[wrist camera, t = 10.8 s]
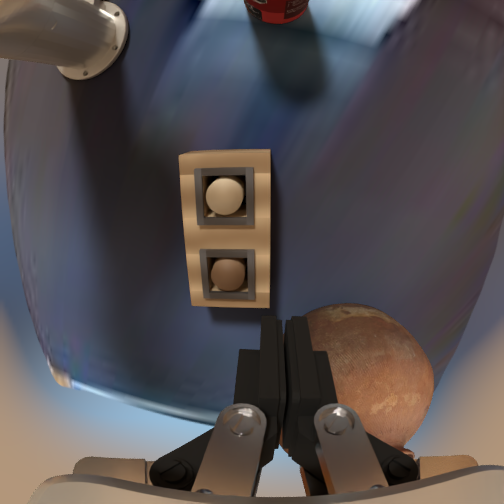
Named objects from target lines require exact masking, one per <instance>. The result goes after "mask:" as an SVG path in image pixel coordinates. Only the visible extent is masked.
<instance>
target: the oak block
mask: <svg viewBox="0 0 504 504" xmlns="http://www.w3.org/2000/svg"><path fill="white" fill-rule="evenodd" d="M179 170H180V186H181V201H182V214H183V226H184V237H185V248H186V258H187V268H188V277H189V286H190V294H191V303H192V306H210V307H243V308H269V302H270V196H271V173H270V149H235V150H205V151H191V152H188V153H184V154H181V155H179ZM219 175H246V205H240V207H239V208H238V210H236V211H235V212H234V213H232V214H228V215H221V214H218V213H216V212H214V211H213V210H212V209H211V208H210V207H209V206H208V204H207V201H206V192H207V189H208V188H209V186H210V185H211V184H212V176H219ZM216 257H229V258H247V265H248V271H245V277H244V281H243V283H242V285H241V286H240V287H239V288H237V289H235V290H231V291H226V290H222V289H220V288H218V287H217V286H216V285H215V284H214V283H213V281H212V278H211V271H212V268H213V266H214V263H215V261H216Z"/></svg>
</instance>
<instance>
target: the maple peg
mask: <svg viewBox="0 0 504 504" xmlns="http://www.w3.org/2000/svg"><path fill="white" fill-rule="evenodd" d="M245 193H246V180H245V178H244V177H243V176H242V175H220V176H219V177H218V178H217V179H216V180H215V181H214V182H213V183H212V184H211V185H210V186H209V188H208V189H207V192H206V201H207V204H208V206H209V207H210V208H211V209H212V210H213V211H214V212H216V213H218V214H221V215H228V214H232V213H234V212H235V211H236V210H238V208H239V207H240V205H241V203H242V201H243V198H244V195H245Z"/></svg>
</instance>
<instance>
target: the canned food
mask: <svg viewBox="0 0 504 504" xmlns="http://www.w3.org/2000/svg"><path fill="white" fill-rule="evenodd" d="M308 2H309V0H244V3H245V6H246V8H247V9H248V11H249V12H250V13H251V14H252V15H253V16H255V17H256V18H258V19H260V20H262V21H264V22H267V23H273V24H283V23H288V22H291V21H293V20H295V19H297V18H299V17H300V16H301V15H302V14H303V13H304V12H305V10H306V8H307V5H308Z"/></svg>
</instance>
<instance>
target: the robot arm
mask: <svg viewBox="0 0 504 504" xmlns="http://www.w3.org/2000/svg"><path fill="white" fill-rule="evenodd" d="M127 36H128V20H127V17H126V15H125V13H124V11H123V10H122V9H121V8H120V7H118V6H117V5H115V4H113V3H110V2H105V1H100V0H0V58H4V59H13V60H22V61H29V62H37V63H43V64H50V65H56V66H57V68H58V70H59V71H60V72H61V73H62V74H63V75H64V76H66V77H68V78H70V79H75V80H86V79H90V78H93V77H95V76H98V75H99V74H101V73H102V72H104V71H105V70H106V69H108V68H109V67H110V66H111V65H112V64H113V63H114V62H115V60H116V59H117V58H118V56H119V55H120V53H121V52H122V50H123V48H124V46H125V43H126V40H127ZM116 49H117V50H116ZM281 429H282V446H283V449H288V456H289V457H292V460H294V461H295V462H296V463H297V464H299V465H300V473H301V477H302V481H303V485H304V489H305V493H306V497H256V493H257V488H258V483H259V480H260V475H261V470H262V467H264V466H265V465H266V464H268V463H269V462H270V461H272V460H273V455H274V449H278V447H279V441H280V435H281ZM27 504H504V466H498V465H480V466H478V463H477V461H476V460H475V459H474V458H473V457H471V456H469V455H455V456H432V457H431V456H430V457H419V458H418V459H413V458H411V457H410V456H409V455H407V454H405V453H403V452H401V451H399V450H398V449H396V448H394V447H392V446H390V445H389V444H387V443H385V442H383V441H382V440H380V439H378V438H376V437H375V436H373V435H371V434H369V433H368V432H366V431H365V429H364V427H363V425H362V422H361V420H360V418H359V416H358V414H357V413H356V411H354V410H353V409H352V408H351V407H348V406H346V405H343V404H338V400H337V395H336V390H335V385H334V381H333V376H332V371H331V367H330V362H329V358H328V354H327V351H313V348H312V342H311V337H310V331H309V326H308V320H307V317H304V316H292V318H291V320H286V324H285V334H284V344H283V330H282V320H276V316H263V315H262V317H261V338H260V350H248V349H240V350H239V357H238V366H237V375H236V384H235V393H234V403H233V405H231V406H228V407H226V408H225V409H224V410H223V411H221V413H220V414H219V416H218V418H217V421H216V424H215V427H214V428H212V429H210V430H209V431H207V432H206V433H204V434H202V435H200V436H199V437H197V438H195V439H193V440H192V441H190V442H188V443H186V444H185V445H183V446H181V447H179V448H177V449H175V450H174V451H172V452H170V453H168V454H166V455H164V456H162V457H160V458H159V459H158V460H156V461H146V460H145V459H125V458H124V459H123V458H103V457H85V458H83V459H81V460H79V461H78V462H77V463H76V464H75V467H74V470H73V474H68V475H61V476H55V477H51V478H49V479H47V480H45V481H44V482H43V483H42V484H40V485H39V487H38V488H37V489H36V490H35V492H34V493H33V495H32V496H31V498H30V500H29V502H28V503H27Z"/></svg>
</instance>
